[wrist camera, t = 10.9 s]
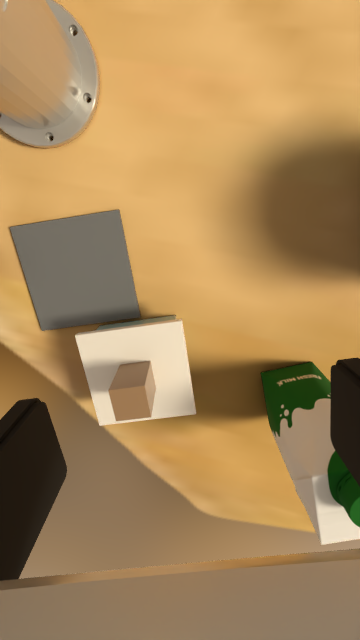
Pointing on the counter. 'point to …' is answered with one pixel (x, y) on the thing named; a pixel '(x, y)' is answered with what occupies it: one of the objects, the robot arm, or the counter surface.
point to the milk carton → (312, 450)
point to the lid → (138, 372)
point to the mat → (77, 270)
